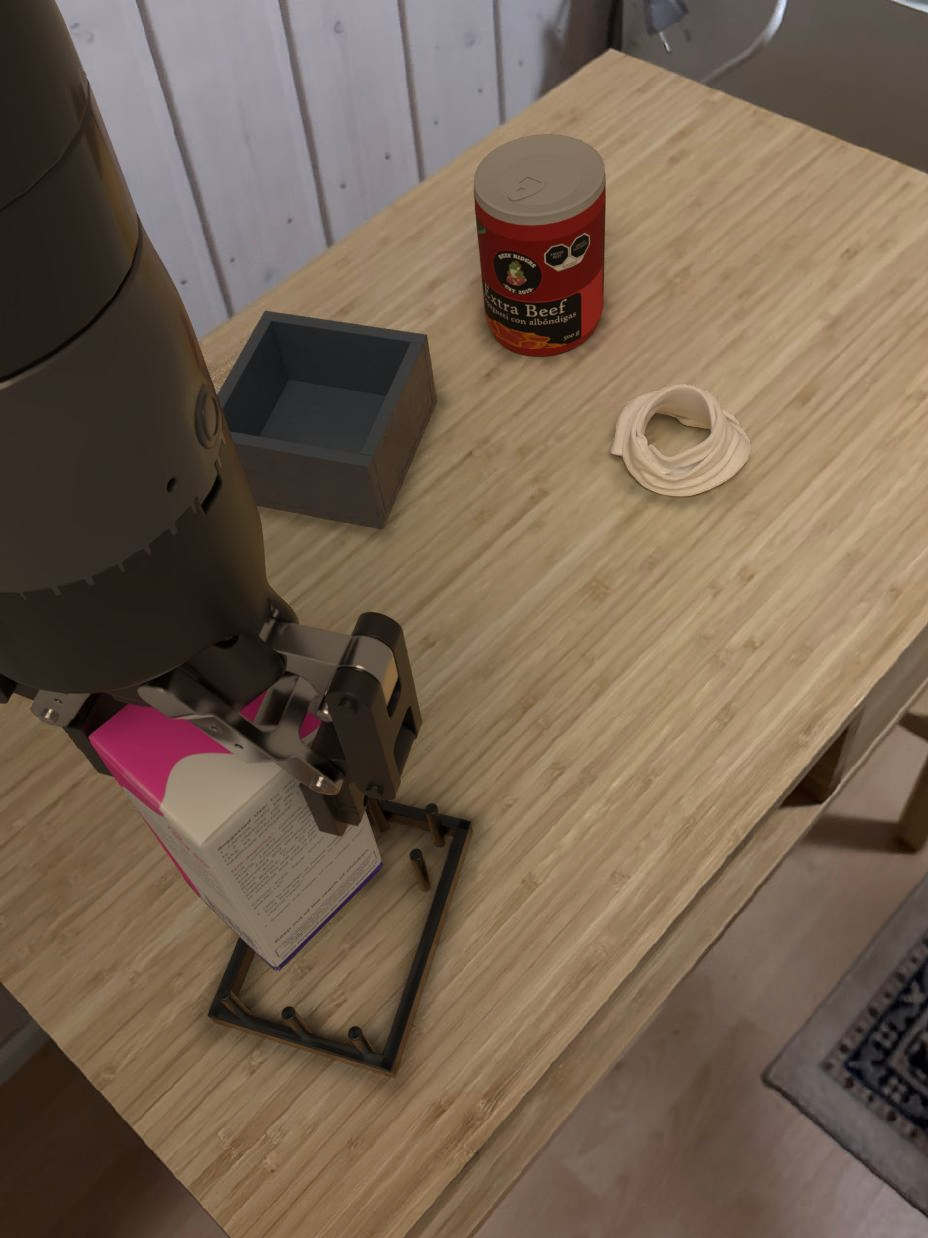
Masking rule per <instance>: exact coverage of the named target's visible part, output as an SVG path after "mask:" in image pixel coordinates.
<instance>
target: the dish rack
mask: <svg viewBox="0 0 928 1238" xmlns="http://www.w3.org/2000/svg"><path fill="white" fill-rule="evenodd" d="M365 811H366V814H367V817H372V819H373V822H374V825H375V828H376V830H377V832H378V833H381V834H385V833H386V832H388V831H389V828H390V825H389V822H393V823H396V824H400V825H404V826H409V827H412V828H415V829H420V830H424V831H427V832H430V833H431V837H432V840H433V843H434V846H435V847H436V848H444V847H445V846H446V844H447V837H451V838H452V841H451V845H450V847H449V850H448V854H447V857H446V859H445V863H444V865H443V869H442V872H441V875H440V878H439V881H438V885H437V887H436V890H435V894H434V897H433V900H432V903H431V906H430V909H429V911H428V915H427V918H426V921H425V924H424V927H423V930H422V933H421V936H420V939H419V942H418V946H417V949H416V952H415V955H414V957H413V961H412V964H411V967H410V970H409V973H408V976H407V978H406V983H405V986H404V989H403V991H402V995H401V998H400V1001H399V1004H398V1007H397V1010H396V1013H395V1016H394V1019H393V1022H392V1025H391V1029H390V1031H389V1035H388V1038H387V1040H386V1044H385V1047H384V1050H383V1053H382V1054H381V1053H377V1052H376V1050H375V1049H374V1047H373V1046H372V1044H371V1042H370V1041H369V1039H368V1038H367V1036H366V1035H365V1033H364V1032H363V1030H362V1028H361V1027H359V1026H358V1025H353V1026H351V1027H350V1028H349V1029H348V1031H347V1037H348V1039H349V1040H350V1042H351V1043H352V1044H348V1043H345V1042H341V1041H339V1040H335V1039H332V1038H328V1037H325V1036H322V1035H318V1034H316V1033H314V1032H313V1031H312V1030H311V1028H310V1027H309V1026H308V1024H307V1023H306V1022H305V1020H304V1019H303V1017H301V1015H300V1014H299V1012H298V1010H296V1008H295V1007H294V1006H291V1005H287V1006H284V1007H283V1009H282V1010H281V1018H282V1019H283V1020H284V1021H285V1022H286V1024H287V1025H286V1024H283V1023H281V1022H276V1021H274V1020H270V1019H266V1018H263V1017H259V1016H256V1015H253V1013H252V1012H251V1011H250V1010H249V1009H248V1007H247V1006H246V1005H245V1004H244V1003H243V1002H242V1001H241V1000H240V998H239V997H238V994H239V992H240V989H241V988H242V985H243V983H244V980H245V978H246V975H247V973H248V970H249V967H250V965H251V962H252V960H253V958H254V955H255V952H254V951H253V950H252V949H251V948H250V947H249V946H248V945H247V944H246V943H245V942H244V941H243V940H242V939H241V938H240V937H239V936H238V939H237V942H236V944H235V947H234V949H233V951H232V953H231V956H230V959H229V961H228V964H227V966H226V968H225V971H224V973H223V976H222V978H221V981H220V983H219V985H218V988H217V989H216V992H215V995H214V997H213V999H212V1003H211V1004H210V1007H209V1009H208V1012H207V1017H208V1018H209V1019H210V1020H211V1021H212V1022H213V1023H214V1024H217V1025H221V1026H224V1027H227V1028H230V1029H233V1030H236V1031H240V1032H243V1033H247V1034H250V1035H254V1036H257V1037H260V1038H263V1039H266V1040H270V1041H272V1042H275V1043H278V1044H282V1045H285V1046H288V1047H291V1048H295V1049H299V1050H301V1051H305V1052H308V1053H312V1054H315V1055H318V1056H321V1057H324V1058H328V1059H331V1060H334V1061H337V1062H340V1063H344V1064H347V1065H350V1066H353V1067H357V1068H360V1069H364V1070H366V1071H369V1072H373V1073H376V1074H378V1075H379V1074H380V1075H382V1076H386V1077H389V1078H392V1079H395V1078H396V1076H397V1072H398V1070H399V1066H400V1063H401V1060H402V1057H403V1054H404V1051H405V1048H406V1044H407V1041H408V1039H409V1035H410V1032H411V1029H412V1026H413V1022H414V1020H415V1016H416V1013H417V1010H418V1006H419V1003H420V1000H421V998H422V994H423V991H424V988H425V986H426V982H427V978H428V975H429V973H430V970H431V966H432V962H433V960H434V957H435V953H436V950H437V947H438V944H439V941H440V938H441V935H442V931H443V929H444V925H445V922H446V918H447V915H448V912H449V909H450V906H451V903H452V899H453V897H454V893H455V890H456V887H457V884H458V880H459V878H460V875H461V871H462V868H463V865H464V861H465V860H466V855H467V852H468V849H469V847H470V843H471V840H472V837H473V834H474V827H473V822H472V820H468V819H465V818H459V817H455V816H452V815H448V814H444V813H440V810H439V807H438V805H437V804H436V803H433V802H429V803H428V804H426V806H425V808H424V809H423V808H419V807H416V806H412V805H406V804H403V803H400V802H395V801H393V800H389V801H386V800H379V799H374V798H371V797H370V799H369V802H368V805H367V807H366V810H365ZM388 821H389V822H388ZM446 836H447V837H446ZM409 860H410V863H411V865H412V868H413V871H414V874H415V878H416V881H417V884H418V885H419V889H420V890H421V891H422V892H425V893H426V892H427V893H428V892H429V891H430V890H431V889H432V887H433V883H432V879H431V876H430V874H429V870H428V866H427V864H426V863H427V862H426V860H425V857H424V853H423V851H422V850H421V849H420V848H418V847H417V848H413V849H411V850H410V852H409Z"/></svg>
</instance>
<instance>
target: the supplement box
mask: <svg viewBox="0 0 928 1238" xmlns="http://www.w3.org/2000/svg"><path fill="white" fill-rule="evenodd" d="M266 693H267V690H266V691H265V692H264V693H263V694H261V695H260V696H259V697H258V698H256V699H255V700H254V701H253V702H251V703H250V704H249V705H247V706H246V707H245V708H244V709H242V710H241V711H240V712H239V713H240V714H242V715H243V716H244V717H246V718H247V719H248V720H250V721H251V722H252V723H253V721H254V719H255V717H256V715H257V712H258V710H259V708H260V706H261V704H262V701H263V699H264V697H265V695H266ZM320 724H321V721H320V720H319V719H317V718H316V717H315V716H314V715H312V714H311V713H310V712H309V711H308V712H307V714H306V716H305V719H304V721H303V723H302V726H301V728H300V737H301V740H302V741H303V742H304V743H305V744H306V745H308V746H309V747H310V748H311V746H312V743H313V741H314V739H315V736H316V734H317V731H318V729H319V727H320ZM89 740H90V742H91V744H92V746H93V747H94V749H95V750H96V751H97V753H98V754H99V756H100V757H101V759H102V760H103V762H104V763H105V765H106V766H107V768H108V769H109V771H110V772H111V773H112V775H113V776H114V777H113V778H114V779H115V781H116V782H117V784H118V785H119V787H120V788H121V789H122V791H123V792H124V794H125V795H126V797H127V798H128V799H129V801H130V802H131V803H132V805H133V806H134V807H135V809H136V811H137V812H138V814H139V815H140V816H141V817H142V819H143V821H144V822H145V823H146V825H147V826H148V828H149V830H150V831H151V832H152V833H153V835H154V837H155V838H156V840H157V841H158V843H159V844H160V845H161V847H162V849H163V850H164V852H165V853H166V854H167V855H168V857H169V858H170V860H171V862H172V863H173V864H174V866H175V867H176V868H177V870H178V871H179V873H180V874H181V876H182V877H183V879H184V881H185V882H186V884H187V885H188V886H189V887H190V888H191V889H192V891H193V892H194V893H195V894H196V895H197V896H198V897H199V898H200V899H201V900H202V901H203V902H204V903H205V904H206V906H207V907H208V908H210V909H211V911H212V912H214V914H215V915H216V916H218V917H219V919H220V920H222V922H223V923H225V925H227V926H228V927H229V929H231V930H232V932H234V934H236V935H237V936H238V938H239V937H240V938H241V939H242V940H243V941H244V942H245V943H246V944H247V945H248V946H249V947H250V948H251V949H252V950H253V951H254V954H255V955H257V956H258V957H259V958H260V959H261V960H262V961H264V962H265V963H266V964H267V965H268V966H269V967H270V968H271V969H272V970H273V971H274V972H275V973H280V972H281V971H282V969H284V967H286V966H287V965H288V964H290V962H292V960H293V959H294V958H295V957H297V955H298V954H299V953H300V952H301V951H302V950H303V949H304V948H305V947H306V946H307V944H308V943H309V942H310V941H312V940H313V938H314V937H316V936H317V935H318V933H319V932H320V931H321V930H322V929H323V928H324V927H325V926H326V925H327V924H328V923H329V922H330V921H331V920H332V919H333V918H334V917H335V916H336V915H338V913H339V912H340V911H341V910H342V909H343V908H344V907H345V906H346V905H348V903H350V901H352V900H353V898H355V897H356V896H357V895H358V894H359V893H360V892H361V890H362V889H363V888H364V887H366V885H367V884H368V883H369V882H370V881H371V880H372V879H373V878H374V877H375V876H376V875H377V874H378V873H379V872H380V871H381V869H382V868H383V865H384V863H383V860H382V857H381V854H380V851H379V847H378V845H377V840H376V838H375V835H374V832H373V829H372V826H371V824H370V820H369V816H368V815H367V814H366V811H365V813H364V815H363V818H362V821H361V822H360V824H359V825H358V826H354V825H350V824H348V826H347V829H346V831H345V833H344V834H343V836H341V837H340V836H336V835H332V834H328V833H324V832H321V831H319V829H318V827H317V824H316V822H315V820H314V818H313V816H312V813H311V811H310V809H309V807H308V805H307V802H306V800H305V798H304V796H303V794H302V791H301V789H300V787H299V785H300V783H301V782H300V781H298V780H297V779H296V778H294V777H293V776H292V775H290V774H289V773H288V772H286V771H285V770H283V769H282V768H281V767H279V766H278V765H277V764H275V763H274V762H271V763H260V764H248V763H246V762H244V761H243V760H241V759H240V758H239V757H237V756H236V755H235V754H233V753H232V752H230V751H229V750H228V749H226V748H225V747H223V746H222V745H221V744H219V743H218V742H216V741H215V740H214V739H212V738H211V737H210V736H208V735H207V734H205V733H204V732H203V731H201V730H200V729H198V728H197V727H196V726H194V725H193V724H191V723H190V722H189V721H187V720H185V719H178V720H173V719H170V718H168V717H166V716H165V715H164V714H162V713H161V712H159V711H158V710H157V709H155V708H152V707H143V706H137V705H133V704H128V705H127V706H125V707H124V708H123V709H122V710H120V711H119V712H118V713H117V714H115V715H114V716H113V717H112V718H110V719H109V720H108V721H107V722H105V723H104V724H103V725H102V726H100V727H99V728H98V729H97V730H96V731H94V732H93V733H92V734H91V735H90V736H89Z"/></svg>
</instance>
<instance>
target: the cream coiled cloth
mask: <svg viewBox="0 0 928 1238" xmlns="http://www.w3.org/2000/svg"><path fill="white" fill-rule="evenodd" d="M626 402H627V403H626V404H625V405H624V406H623V407H622V410H621V411H620V413H619V414H618V416H617V419H616V422H615V433H614V437H613V440H612V443H611V446H610V450H609V453H610V454H612V455H614V456H618V457H622V460H623V462H624V465H625V466H626V468H627V470H628V472H629V473H630V474H631V476H632V477H633V478H634V479H635V480H636V481H637V482H638V483H639V484H640V485H641V486H643V488H646V489H647V490H649V491H652V492H654V493H657V494H660V495H663V496H670V497H691V496H696V495H698V494H702V493H705V492H707V491H709V490H712V489H714V488H717V487H718V486H720V485H721V484H724V483H725V482H727V481H729V480H730V479H731V478H733V477H734V476H735V475H736V474H738V472H739V471H740V470H741V469H742V468H743V467H744V465H745V464H746V463H747V462H748V460H749V458H750V456H751V453H752V444H751V443H752V442H751V441H750V438H749V436H748V434H747V432H746V431H745V430H744V429H743V427H742V424H741V422H740V420H739V419H738V418H736V417H735V416H734V415H733V414H732V413H730V412H729V411H727V410H725V409H723V408H722V406H721V403H720V402H719V400H718V398H717V397H716V396H715V395H714V394H713V393H712V392H710V391H708V390H707V389H704V388H700V387H699V386H696V385H693V384H689V383H677V384H670V385H668V386H665V387H662V388H660V389H659V390H652V391H647V392H645V393H641V394H639V395H637V396H635V397H634V398H631V399H630V400H627V401H626ZM655 414H659V415H665V416H670V417H673V418H676V419H677V420H678V421H679V422H680V423H681V424H682V425H684V426H687V427H693V428H700V429H705V430H710V434H709V435H708V437H707V438H705V440H703V441H701V442H700V443H698V444H696V445H694V446H692V447H690V448H688V449H686V450H684V451H681V452H680V453H678V454H676V455H672V456H667V455H664V454H663V453H662V452H661V451H660V450H659V449H658V448H657V447H656V446H655V445H654V444H651V443H650V444H649V445H648V443H649V442H648V439H647V437H646V436H645V433H646V432H645V431H646V428H647V426H648V423H649V422H650V420H651V419H652V417H653V416H654V415H655Z"/></svg>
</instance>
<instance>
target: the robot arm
mask: <svg viewBox="0 0 928 1238" xmlns="http://www.w3.org/2000/svg"><path fill="white" fill-rule="evenodd" d="M120 164H121V163H120V162H119V159H118V156H117V154H116V151H115V149H114V145H113V143H112V140H111V138H110V135H109V132H108V129H107V127H106V124H105V121H104V118H103V116H102V113H101V111H100V108H99V105H98V102H97V100H96V97H95V94H94V91H93V89H92V86H91V83H90V81H89V79H88V75H87V73H86V71H85V68H84V66H83V63H82V60H81V57H80V55H79V52H78V50H77V48H76V45H75V43H74V41H73V38H72V36H71V34H70V31H69V28H68V27H67V23H66V21H65V18H64V17H63V13H62V12H61V10H60V8H59V6H58V3H57V1H56V0H0V704H1V705H3V704H4V705H6V704H8V703H9V701H10V700H11V698H12V696H13V695H14V694H16V695H18V696H21V697H23V698H26V699H27V700H31V701H32V703H31V705H30V709H29V710H30V712H31V713H32V714H33V716H35V717H36V718H38V719H39V720H40V721H41V722H42V723H44V724H47V725H49V726H54V727H59V728H62V729H63V731H64V732H65V733H66V734H67V736H68V737H69V738H70V740H72V741H71V742H73V744H74V745H75V746H76V748H77V749H78V750H79V751H81V753H83V755H84V757H85V758H86V759H87V760H88V762H89V763H90V764H91V765H92V767H93V768H94V769H95V771H96V772H97V773H98V774H101V775H104V776H108V777H112V778H114V776H113V775H112V773H111V772H110V771H109V769H108V768H107V766H106V765H105V763H104V762H103V760H102V759H101V757H100V756H99V754H98V753H97V751H96V750H95V749H94V747H93V746H92V744H91V742H90V740H89V736H90V735H91V734H92V733H93V732H94V731H96V730H97V729H98V728H99V727H100V726H102V725H103V724H104V723H105V722H107V721H108V720H109V719H110V718H112V717H113V716H114V715H115V714H117V713H118V712H119V711H120V710H122V709H123V708H124V707H125V706H127V705H128V704H133V705H137V706H143V707H152V708H155V709H157V710H158V711H159V712H161V713H162V714H164V715H165V716H166V717H168V718H170V719H173V720H178V719H185V720H187V721H189V722H190V723H191V724H193V725H194V726H196V727H197V728H198V729H200V730H201V731H203V732H204V733H205V734H207V735H208V736H210V737H211V738H212V739H214V740H215V741H216V742H218V743H219V744H221V745H222V746H223V747H225V748H226V749H228V750H229V751H230V752H232V753H233V754H235V755H236V756H237V757H239V758H240V759H241V760H243V761H244V762H246V763H248V764H260V763H271V762H274V763H275V764H277V765H278V766H279V767H281V768H282V769H283V770H285V771H286V772H288V773H289V774H290V775H292V776H293V777H294V778H296V779H297V780H298V781H300V782H301V783H300V785H299V787H300V789H301V791H302V794H303V796H304V798H305V800H306V802H307V805H308V807H309V809H310V811H311V813H312V816H313V818H314V820H315V822H316V824H317V827H318V829H319V831H321V832H324V833H328V834H332V835H336V836H340V837H341V836H343V834H344V833H345V831H346V829H347V826H348V824H350V825H354V826H358V825H359V824H360V822H361V821H362V818H363V815H364V813H365V810H366V807H367V805H368V802H369V799H370V797H371V798H374V799H379V800H386V801H393V800H395V799H396V797H397V795H398V791H399V788H400V786H401V783H402V781H401V778H402V777H403V776H402V775H403V773H404V770H405V767H406V764H407V762H408V759H409V756H410V753H411V751H412V747H413V745H414V743H415V740H417V738H418V736H419V733H420V731H421V728H422V726H423V718H422V714H421V708H420V704H419V700H418V699H419V698H418V694H417V689H416V686H415V685H416V684H415V681H414V676H413V671H412V666H411V662H410V661H411V660H410V657H409V652H408V648H407V644H406V643H407V642H406V639H405V634H404V630H403V627H402V626H401V625H400V623H399V622H398V621H397V620H395V619H393V618H392V617H390V616H388V615H386V614H383V613H380V612H376V611H365V612H362V613H360V614H359V616H358V618H357V620H356V622H355V624H354V627H353V629H352V632H351V634H350V635H348V634H344V633H340V632H335V631H331V630H327V629H321V628H317V627H313V626H308V625H303V624H300V620H299V617H298V615H297V614H296V612H295V610H294V608H293V607H292V606H291V605H290V604H289V603H288V602H287V601H286V600H284V599H283V598H282V597H281V596H280V594H279V593H277V592H276V591H275V589H274V588H273V587H272V586H271V584H270V583H269V581H268V577H267V567H266V566H267V565H266V555H265V554H266V553H265V540H264V532H263V525H262V521H261V515H260V512H259V509H258V505H256V503H255V500H254V497H253V494H252V491H251V489H250V486H249V483H248V480H247V478H246V475H245V472H244V469H243V466H242V464H241V461H240V458H239V455H238V453H237V450H236V447H235V444H234V441H233V439H232V436H231V433H230V430H229V427H228V425H227V422H226V419H225V416H224V413H223V411H222V408H221V405H220V402H219V399H218V396H217V394H218V393H217V391H216V389H215V386H214V382H213V380H212V377H211V374H210V372H209V368H208V366H207V363H206V359H205V357H204V354H203V351H202V349H201V345H200V343H199V339H198V337H197V335H196V332H195V329H194V326H193V323H192V320H191V318H190V316H189V314H188V311H187V309H186V306H185V304H184V302H183V299H182V297H181V295H180V293H179V291H178V288H177V286H176V285H175V283H174V280H173V278H172V277H171V275H170V273H169V271H168V269H167V267H166V265H165V264H164V262H163V260H162V259H161V257H160V255H159V253H158V251H157V250H156V248H155V246H154V244H153V243H152V241H151V239H150V237H149V235H148V233H147V231H146V229H145V227H144V225H143V222H142V220H141V218H140V215H139V214H138V211H137V208H136V205H135V202H134V200H133V197H132V194H131V192H130V188H129V186H128V183H127V181H126V178H125V176H124V173H123V170H122V167H121V165H120ZM266 690H267V693H266V695H265V697H264V699H263V701H262V704H261V706H260V708H259V710H258V712H257V715H256V717H255V719H254V721H253V723H252V722H251V721H250V720H248V719H247V718H246V717H244V716H243V715H242V714H240V713H239V712H240V711H241V710H242V709H244V708H245V707H246V706H247V705H249V704H250V703H251V702H253V701H254V700H255V699H256V698H258V697H259V696H260V695H261V694H263V693H264V692H265V691H266ZM308 711H309V712H310V713H311V714H312V715H314V716H315V717H316V718H317V719H319V720H320V721H321V724H320V727H319V729H318V731H317V734H316V736H315V739H314V741H313V743H312V746H311V748H310V747H309V746H308V745H306V744H305V743H304V742H303V741H302V740H301V737H300V728H301V726H302V723H303V721H304V719H305V716H306V714H307V712H308Z"/></svg>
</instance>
